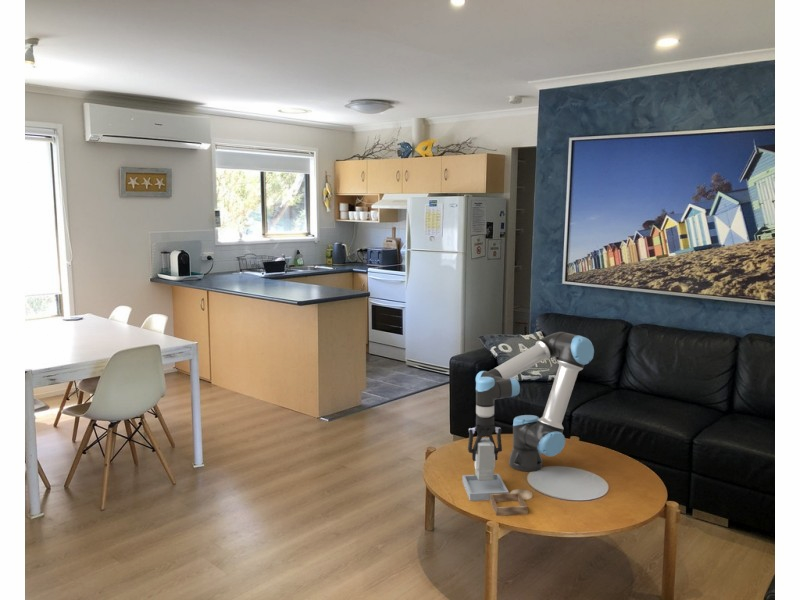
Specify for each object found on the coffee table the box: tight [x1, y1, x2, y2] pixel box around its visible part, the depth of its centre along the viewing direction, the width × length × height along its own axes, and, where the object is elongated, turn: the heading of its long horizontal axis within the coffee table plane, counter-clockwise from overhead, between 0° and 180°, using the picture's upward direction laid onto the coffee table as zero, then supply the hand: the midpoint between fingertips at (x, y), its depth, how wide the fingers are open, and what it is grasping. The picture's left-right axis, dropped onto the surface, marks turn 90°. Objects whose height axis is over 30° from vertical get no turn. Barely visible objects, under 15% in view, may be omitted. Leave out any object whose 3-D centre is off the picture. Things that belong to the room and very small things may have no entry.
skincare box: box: [474, 437, 495, 481], centre depth 255 cm, size 8×7×16 cm
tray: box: [461, 473, 510, 502], centre depth 256 cm, size 16×18×3 cm
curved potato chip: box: [509, 488, 534, 501], centre depth 251 cm, size 9×9×1 cm
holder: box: [489, 492, 528, 516], centre depth 241 cm, size 12×12×3 cm
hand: (484, 467), depth 255 cm, fingers closed on skincare box, 7 cm apart
